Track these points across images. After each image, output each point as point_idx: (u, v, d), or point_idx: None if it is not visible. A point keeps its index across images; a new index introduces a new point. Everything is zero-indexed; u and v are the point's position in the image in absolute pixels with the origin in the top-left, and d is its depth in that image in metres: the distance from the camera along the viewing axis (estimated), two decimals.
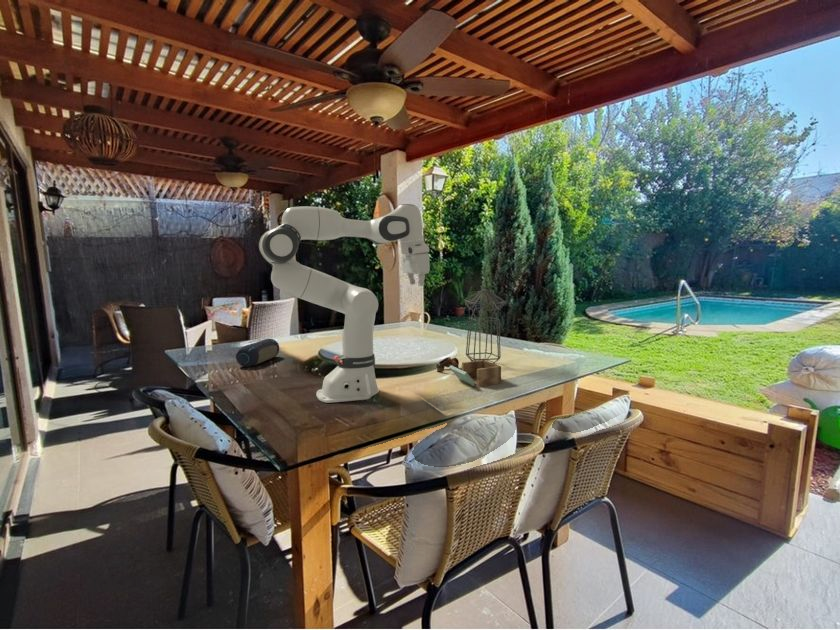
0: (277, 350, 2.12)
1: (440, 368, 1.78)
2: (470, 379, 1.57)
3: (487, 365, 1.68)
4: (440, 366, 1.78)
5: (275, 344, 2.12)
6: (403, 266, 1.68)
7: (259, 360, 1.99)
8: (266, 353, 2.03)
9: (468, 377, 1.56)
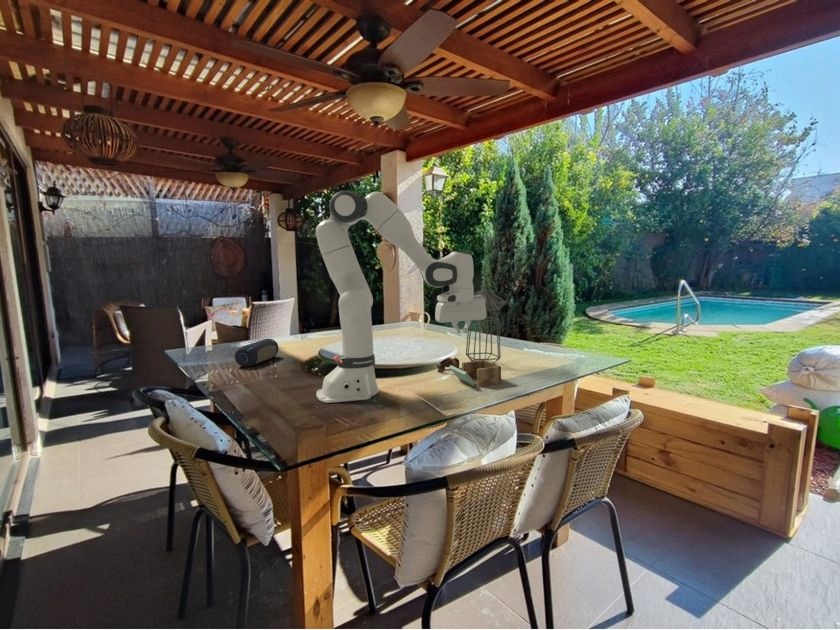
0: (276, 350, 2.12)
1: (441, 368, 1.77)
2: (470, 379, 1.57)
3: (487, 365, 1.68)
4: (441, 366, 1.77)
5: (274, 344, 2.12)
6: None
7: (258, 360, 1.99)
8: (265, 353, 2.03)
9: (468, 377, 1.56)
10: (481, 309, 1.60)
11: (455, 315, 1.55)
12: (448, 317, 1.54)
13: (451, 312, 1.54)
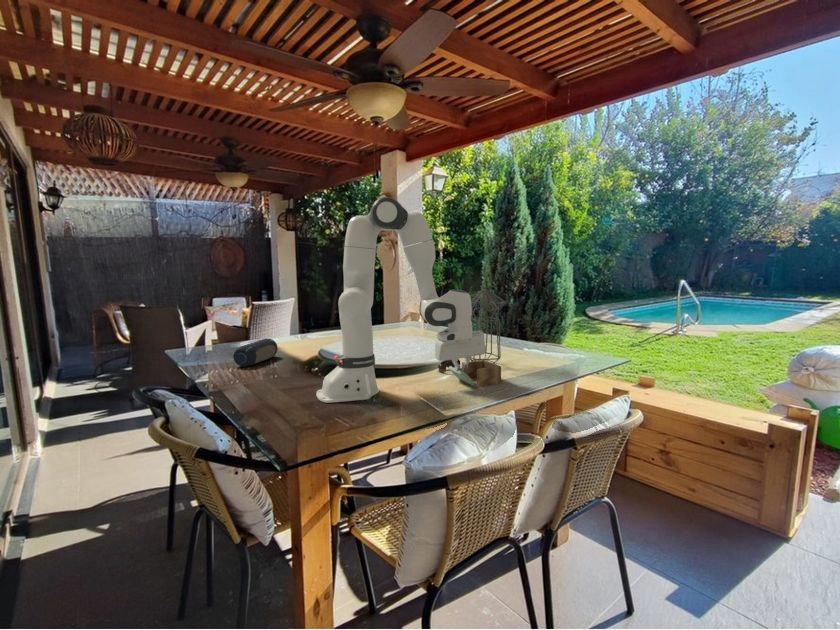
0: (275, 350, 2.13)
1: (442, 368, 1.77)
2: (470, 379, 1.56)
3: (487, 365, 1.68)
4: (442, 366, 1.77)
5: (273, 344, 2.12)
6: None
7: (256, 360, 1.99)
8: (264, 353, 2.03)
9: (467, 378, 1.56)
10: (480, 345, 1.62)
11: (455, 353, 1.57)
12: (448, 355, 1.56)
13: (451, 350, 1.56)
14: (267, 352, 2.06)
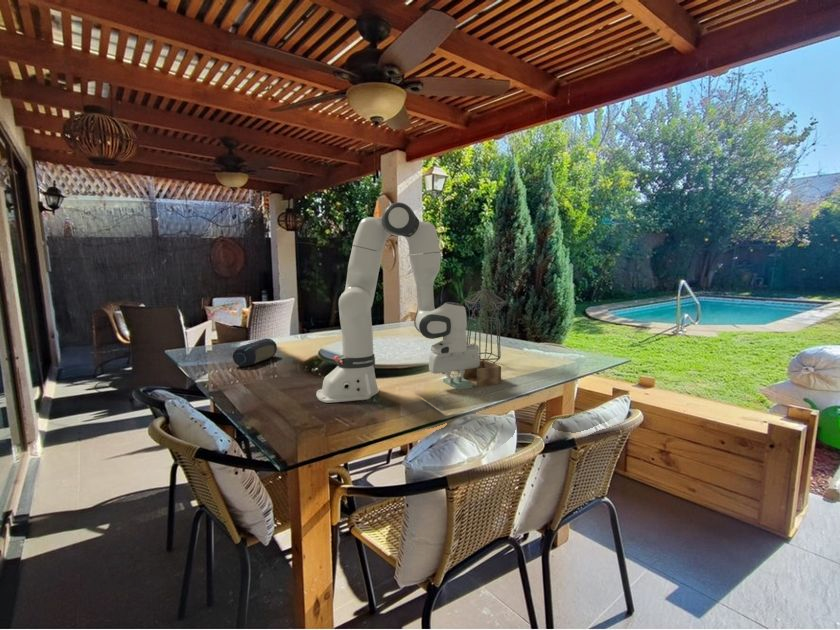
0: (274, 350, 2.13)
1: None
2: (466, 386, 1.56)
3: (487, 365, 1.68)
4: None
5: (272, 343, 2.12)
6: None
7: (256, 360, 1.99)
8: (263, 353, 2.04)
9: (463, 388, 1.56)
10: (474, 358, 1.61)
11: (449, 366, 1.57)
12: (442, 368, 1.55)
13: (444, 363, 1.56)
14: (266, 352, 2.06)
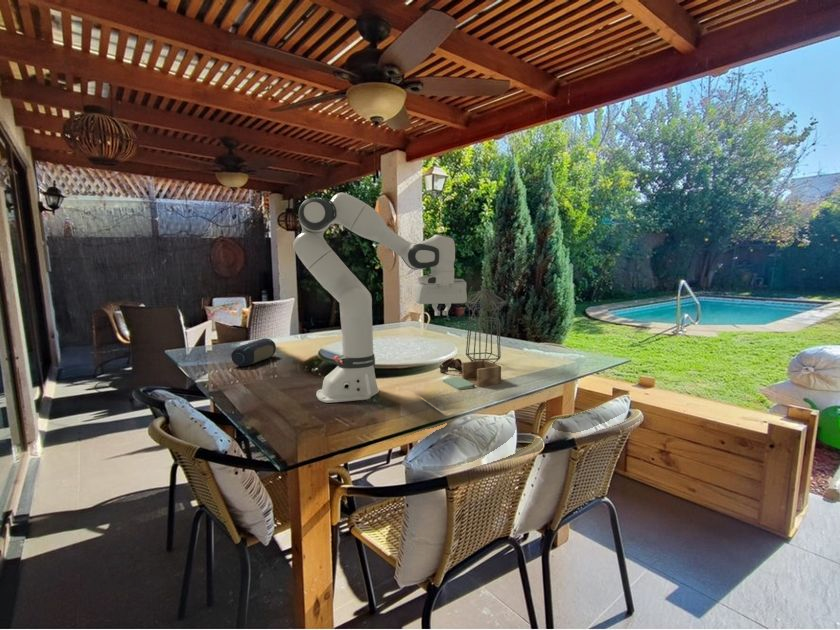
0: (273, 350, 2.13)
1: (444, 369, 1.76)
2: (466, 387, 1.56)
3: (487, 365, 1.68)
4: (444, 367, 1.76)
5: (271, 343, 2.12)
6: None
7: (254, 360, 1.99)
8: (262, 353, 2.04)
9: None
10: (461, 293, 1.62)
11: (435, 297, 1.58)
12: (428, 299, 1.57)
13: (431, 294, 1.57)
14: (265, 352, 2.06)
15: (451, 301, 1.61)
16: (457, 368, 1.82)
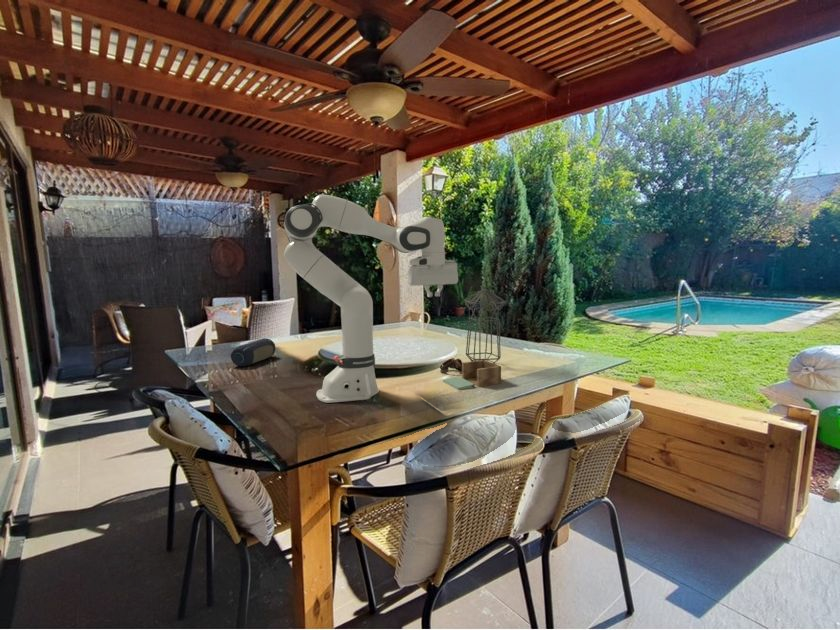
0: (273, 350, 2.13)
1: (444, 369, 1.76)
2: (466, 387, 1.56)
3: (487, 365, 1.68)
4: (444, 367, 1.76)
5: (271, 343, 2.12)
6: None
7: (254, 360, 2.00)
8: (261, 353, 2.04)
9: None
10: (453, 273, 1.65)
11: (427, 279, 1.60)
12: (420, 280, 1.59)
13: (423, 275, 1.60)
14: (265, 352, 2.06)
15: (443, 282, 1.63)
16: (457, 368, 1.82)
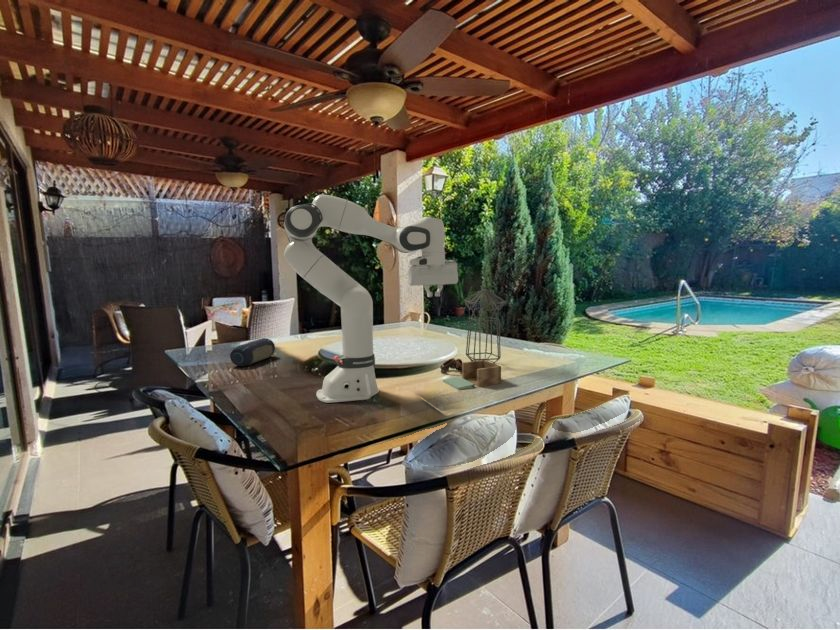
0: (272, 350, 2.13)
1: (444, 369, 1.76)
2: (466, 387, 1.56)
3: (487, 365, 1.68)
4: (444, 367, 1.75)
5: (270, 343, 2.12)
6: None
7: (253, 360, 2.00)
8: (261, 353, 2.04)
9: None
10: (453, 273, 1.65)
11: (427, 279, 1.60)
12: (420, 280, 1.59)
13: (423, 275, 1.60)
14: (264, 352, 2.06)
15: (443, 282, 1.63)
16: (458, 368, 1.82)
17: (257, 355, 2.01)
